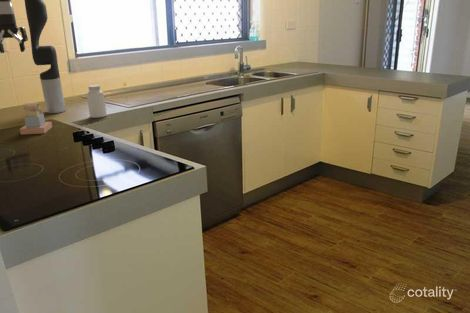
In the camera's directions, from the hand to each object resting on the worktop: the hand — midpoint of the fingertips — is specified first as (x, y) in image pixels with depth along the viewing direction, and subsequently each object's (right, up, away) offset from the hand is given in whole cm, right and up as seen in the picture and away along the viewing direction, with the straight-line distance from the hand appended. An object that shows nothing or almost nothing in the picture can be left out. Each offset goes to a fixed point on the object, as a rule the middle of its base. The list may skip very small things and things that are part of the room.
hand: (12, 52), depth 183 cm
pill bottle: (+30, -26, +23) cm, 46 cm away
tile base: (+10, -34, +2) cm, 36 cm away
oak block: (+10, -28, -1) cm, 29 cm away
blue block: (+10, -32, +1) cm, 33 cm away
